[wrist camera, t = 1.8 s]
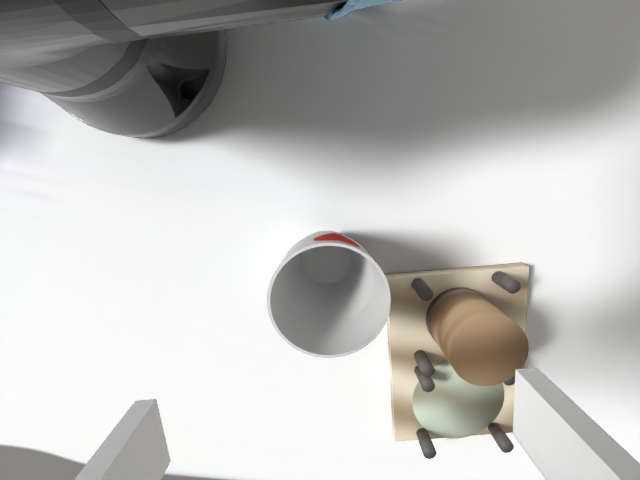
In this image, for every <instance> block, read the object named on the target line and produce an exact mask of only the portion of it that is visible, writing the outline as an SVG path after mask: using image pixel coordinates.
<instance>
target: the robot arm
mask: <svg viewBox="0 0 640 480" xmlns="http://www.w3.org/2000/svg"><path fill="white" fill-rule="evenodd" d="M397 1H401V0H0V83H4V84H8V85H12V86H16V87H20V88H24V89H29V90H33V91H37V92H40V93H41V94H43V95H44V96H46V97H47V98H49V99H50V100H51V101H53V102H54V103H56V104H57V105H59V106H60V107H62V108H63V109H64V110H65V111H67V112H68V113H69V114H71V115H72V116H73V117H75V118H76V119H78V120H80V121H82V122H83V123H85V124H87V125H89V126H92V127H94V128H97V129H99V130H102V131H105V132H108V133H112V134H117V135H123V136H130V137H139V138H148V137H158V136H163V135H167V134H170V133H173V132H175V131H178V130H180V129H182V128H183V127H185V126H187V125H188V124H190V123H191V122H192V121H194V120H195V119H196V118H197V117H198V116H199V115H200V114H201V113H202V112H203V111H204V110H205V109H206V108H207V106H208V105H209V103H210V102H211V100H212V99H213V97H214V95H215V93H216V91H217V89H218V87H219V85H220V82H221V79H222V75H223V71H224V66H225V60H226V36H225V29H232V28H239V27H247V26H255V25H262V24H270V23H277V22H285V21H292V20H300V19H307V18H315V17H322V16H323V17H324V18H325V19H326V20H333V19H339V18H341V17H344V16H346V15H347V14H348V13H349V12H351V11H352V10H356V9H361V8H366V7H372V6H377V5H382V4H387V3H392V2H397ZM513 435H514V436H515V438H516V439H517V440H518V442H519V443H520V445H521V446H522V447H523V449H524V450H525V452H526V453H527V454H528V456H529V457H530V459H531V460H532V461H533V463H534V464H535V466H536V467H537V468H538V470H539V471H540V472H541V474H542V475H543V477H544V478H545V479H546V480H640V464H639V463H638V462H637V461H636V460H635V459H634V458H633V457H632V456H631V455H630V454H629V453H628V452H627V451H626V450H625V449H623V448H622V447H621V446H620V445H619V444H618V443H617V442H616V441H615V440H614V439H613V438H612V437H611V436H610V435H608V434H607V433H606V432H605V431H604V430H603V429H602V428H601V427H600V426H599V425H598V424H597V423H596V422H595V421H593V420H592V419H591V418H590V417H589V416H588V415H587V414H586V413H585V412H584V411H583V410H582V409H581V408H580V407H579V406H577V405H576V404H575V403H574V402H573V401H572V400H571V399H570V398H569V397H568V396H567V395H566V394H565V393H564V392H562V391H561V390H560V389H559V388H558V387H557V386H556V385H555V384H554V383H553V382H552V381H551V380H550V379H549V378H547V377H546V376H545V375H544V374H543V373H542V372H541V371H540V370H539V369H538V368H527V369H516V371H515V394H514V417H513ZM169 463H170V457H169V452H168V448H167V444H166V439H165V435H164V431H163V427H162V422H161V418H160V414H159V409H158V405H157V401H156V399H152V400H140V401H135V402H134V404H133V405H132V406H131V407H130V409H129V410H128V411H127V413H126V414H125V415H124V416H123V418H122V419H121V420H120V422H119V423H118V424H117V425H116V427H115V428H114V429H113V431H112V432H111V433H110V434H109V436H108V437H107V438H106V440H105V441H104V442H103V443H102V445H101V446H100V447H99V449H98V450H97V451H96V452H95V454H94V455H93V456H92V458H91V459H90V460H89V462H88V463H87V464H86V465H85V467H84V468H83V469H82V471H81V472H80V473H79V474H78V476H77V477H76V478H75V480H161V479H162V477H163V475H164V473H165V471H166V469H167V467H168V465H169Z"/></svg>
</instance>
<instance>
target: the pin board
mask: <svg viewBox="0 0 640 480" xmlns="http://www.w3.org/2000/svg"><path fill="white" fill-rule="evenodd" d="M385 277H386V279H387V282H388V285H389V288H390V295H391V304H390V311H389V315H388V318H387V326H388V345H389V365H390V385H391V404H392V424H393V435H394V438H395V442H396V441H408V440H419V443H420V446H421V448H422V451H423V454H424V456H425V457H426V458H428V459H430V458H433V457H435V455H436V451H435V448H434V446H433V443H432V441H431V439H434V438H463V437H468V436H472V435H484V434H491V435H492V436H493V438H494V439H495V441H496V442H497V444H498V446H499V447H500V449H501V450H502V451H503V452H505V453H507V452H510V451H512V449H513V444H512V443H511V441H510V440H509V438H508V437H507V435H506V434H505V433H509V432H513V417H514V394H515V375H514V376H513V377H512V378H510V379H509V380H507V381H505V382H503V383H501V384H498V385H494V386H477V385H473V384H470V383H468V382H466V381H464V380H463V379H462V378H461V377H459V376H458V374H457V373H456V372H455V370H454V369H453V367H452V366H451V364H450V363H449V361H448V360H447V358H446V357H445V355H444V354H443V352H442V350H441V349H440V347H439V346H438V344H437V343H436V342H435V341H434V339H433V338H432V336H431V335H430V333H429V331H428V329H427V325H426V314H427V310H428V308H429V306H430V304H431V303H432V301H433V300H434V299H435V298H436V297H437V296H438V295H439V294H441V293H442V292H444V291H446V290H449V289H452V288H457V287H464V288H470V289H473V290H475V291H477V292H479V293H480V294H481V295H483V296H484V297H485V298H486V299H487V300H488V301H489V302H490V303H492V304H493V305H494V306H495V307H496V308H498V309H499V310H500V311H501V312H503V313H504V314H505V315H506V316H508V317H509V318H510V319H511V320H512V321H514V322H515V323H516V324H517V325H519V326H520V327H521V329H522V330H523V331H524V333H525V335H526V318H527V299H528V279H529V266H527V265H525V264H523V263H511V264H499V265H488V266H477V267H465V268H454V269H443V270H431V271H420V272H409V273H397V274H386V275H385ZM521 369H524V365H523V367H522V368H521Z"/></svg>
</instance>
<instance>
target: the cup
mask: <svg viewBox="0 0 640 480" xmlns="http://www.w3.org/2000/svg"><path fill="white" fill-rule="evenodd" d="M390 304H391V295H390V288H389V285H388V282H387V279H386V277H385V275H384V273H383V271H382V270H381V268H380V267H379V265H378V264H377V263H376V262H375V261H374V259H373V258H372V257H371V256H370V254H369V253H368V252H367V251H366V250H365V248H364V247H363V246H361V245H360V244H359V243H358V242H356V241H355V240H353V239H351V238H349V237H347V236H345V235H343V234H341V233H338V232H334V231H320V232H316V233H313V234H310V235H309V236H307V237H305V238H304V239H302V240H301V241H299V242H298V243H296V244H295V245H294V246H293V247H292V248H291V249H290V250H289V251H288V253H287V254H286V256H285V257H284V259H283V260H282V262H281V264H280V265H279V267H278V268H277V270H276V272H275V273H274V275H273V277H272V279H271V282H270V285H269V289H268V295H267V306H268V312H269V316H270V319H271V322H272V324H273V326H274V328H275V329H276V331H277V332H278V334H279V335H280V336H281V337H282V338H283V339H284V340H285V341H286V342H287V343H288V344H289V345H291V346H292V347H294V348H295V349H297V350H299V351H301V352H303V353H306V354H308V355H312V356H316V357H325V358H333V357H341V356H345V355H349V354H352V353H354V352H356V351H358V350H360V349H362V348H364V347H365V346H367V345H368V344H369V343H370V342H372V341H373V340H374V339H375V338H376V337H377V335H378V334H379V333H380V331H381V330H382V328H383V327H384V325H385V323H386V321H387V318H388V315H389V311H390Z"/></svg>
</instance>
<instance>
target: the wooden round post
mask: <svg viewBox="0 0 640 480" xmlns="http://www.w3.org/2000/svg"><path fill="white" fill-rule="evenodd" d="M426 325H427V329H428V331H429V333H430V335H431V336H432V338H433V339H434V341H435V342H436V343H437V344H438V346H439V347H440V349H441V350H442V352H443V354H444V355H445V357H446V358H447V360H448V361H449V363H450V364H451V366H452V367H453V369H454V370H455V372H456V373H457V374H458V376H459V377H461V378H462V379H463V380H464V381H466V382H468V383H470V384H473V385H477V386H494V385H498V384H501V383H503V382H505V381H507V380H509V379H510V378H512V377H513V376H514V375H515V371H516V369H521V368H522V367H523V365H524V363H525V361H526V359H527V355H528V340H527V337H526V335H525V333H524V331H523V330H522V329H521V327H520V326H519V325H517V324H516V323H515V322H514V321H512V320H511V319H510V318H509V317H508V316H506V315H505V314H504V313H503V312H501V311H500V310H499V309H498V308H496V307H495V306H494V305H493V304H492V303H490V302H489V301H488V300H487V299H486V298H485V297H484V296H483V295H481V294H480V293H479V292H477V291H475V290H473V289H470V288H464V287H457V288H452V289H449V290H446V291H444V292H442V293H441V294H439V295H438V296H437V297H436V298H435V299H434V300H433V301H432V303H431V304H430V306H429V308H428V310H427V314H426Z"/></svg>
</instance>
